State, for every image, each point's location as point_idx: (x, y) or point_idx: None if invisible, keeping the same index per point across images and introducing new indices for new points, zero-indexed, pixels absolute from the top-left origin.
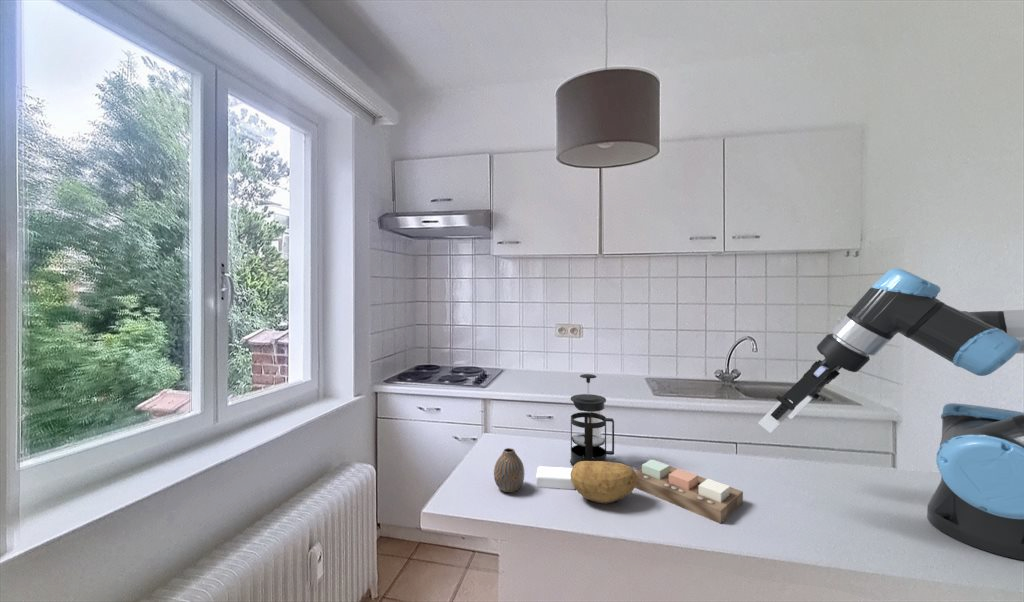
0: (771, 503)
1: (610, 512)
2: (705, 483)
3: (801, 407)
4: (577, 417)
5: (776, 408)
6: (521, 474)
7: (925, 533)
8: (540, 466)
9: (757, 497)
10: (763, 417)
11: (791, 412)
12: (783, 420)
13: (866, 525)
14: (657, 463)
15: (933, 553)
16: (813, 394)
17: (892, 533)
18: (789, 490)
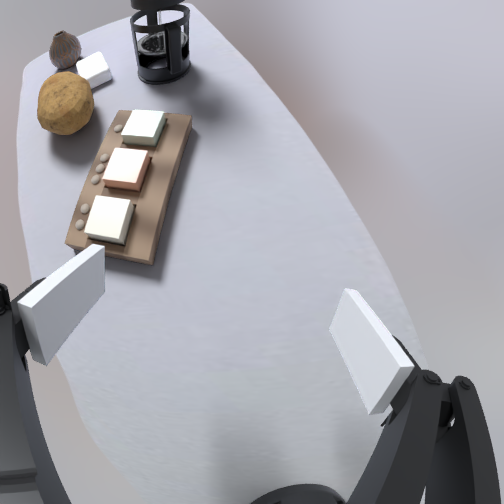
0: (185, 307)
1: (50, 139)
2: (107, 202)
3: (350, 367)
4: (173, 9)
5: (19, 295)
6: (58, 58)
7: (242, 485)
8: (98, 52)
9: (193, 283)
10: (77, 255)
11: (341, 330)
12: (75, 325)
13: (209, 433)
14: (151, 122)
15: (184, 486)
16: (386, 423)
17: (208, 458)
18: (265, 327)
